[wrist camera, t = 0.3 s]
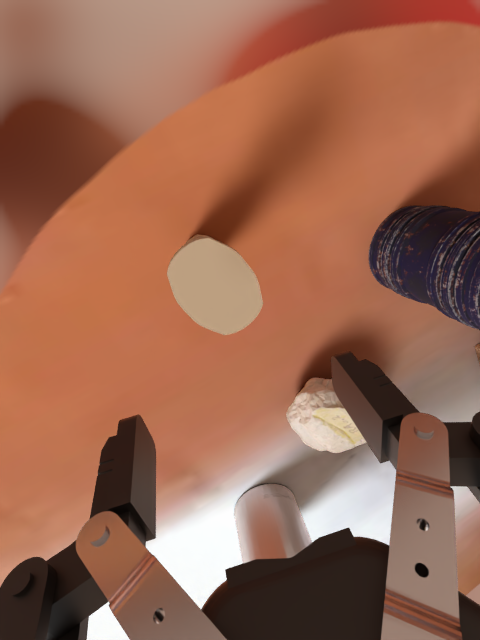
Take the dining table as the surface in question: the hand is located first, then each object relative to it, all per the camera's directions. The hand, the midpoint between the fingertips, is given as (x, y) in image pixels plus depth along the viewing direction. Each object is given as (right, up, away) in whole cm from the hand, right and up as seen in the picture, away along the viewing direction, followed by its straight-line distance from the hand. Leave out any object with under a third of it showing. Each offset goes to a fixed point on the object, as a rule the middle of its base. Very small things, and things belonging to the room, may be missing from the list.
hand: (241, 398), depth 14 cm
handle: (-4, +10, +21) cm, 24 cm away
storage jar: (+19, +11, +25) cm, 34 cm away
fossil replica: (+11, -7, +31) cm, 33 cm away
